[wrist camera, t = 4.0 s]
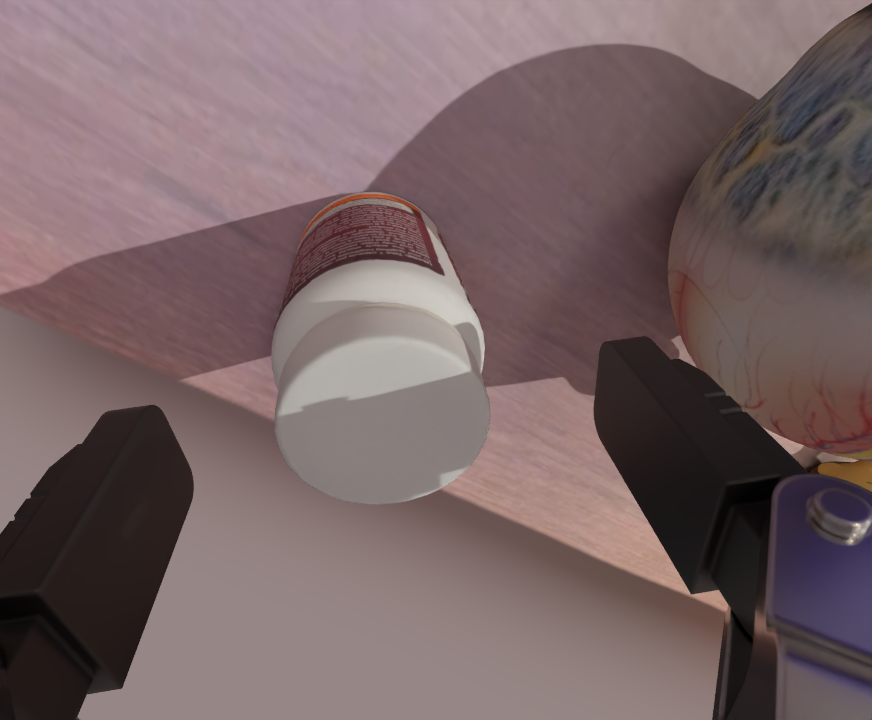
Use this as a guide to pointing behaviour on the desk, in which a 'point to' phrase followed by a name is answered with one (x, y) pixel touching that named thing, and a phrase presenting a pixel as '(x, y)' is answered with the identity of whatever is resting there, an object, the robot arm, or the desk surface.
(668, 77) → the desk surface
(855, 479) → the person figure
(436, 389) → the pill bottle
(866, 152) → the anatomical model
